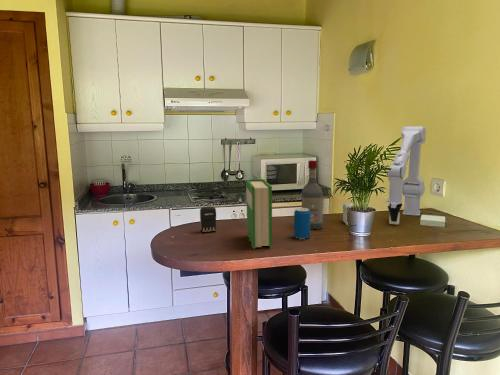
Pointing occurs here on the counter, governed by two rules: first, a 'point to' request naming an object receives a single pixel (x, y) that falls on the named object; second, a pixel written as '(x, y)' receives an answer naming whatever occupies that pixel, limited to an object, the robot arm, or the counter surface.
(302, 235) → the beverage can
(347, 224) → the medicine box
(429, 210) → the counter surface
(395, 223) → the cream block
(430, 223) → the sage block
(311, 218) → the liquor
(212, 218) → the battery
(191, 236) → the counter surface
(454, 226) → the counter surface
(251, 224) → the hardback book
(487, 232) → the counter surface
